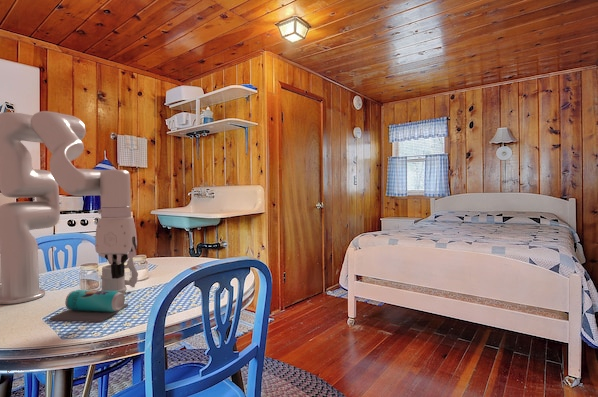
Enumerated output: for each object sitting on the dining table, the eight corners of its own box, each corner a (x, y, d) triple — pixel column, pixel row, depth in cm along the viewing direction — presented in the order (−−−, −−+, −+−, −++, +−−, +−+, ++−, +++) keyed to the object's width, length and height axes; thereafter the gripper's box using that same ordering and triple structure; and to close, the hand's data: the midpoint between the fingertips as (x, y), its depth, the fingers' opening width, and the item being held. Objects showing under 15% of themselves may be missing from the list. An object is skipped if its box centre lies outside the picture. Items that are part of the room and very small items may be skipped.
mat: (50, 319, 93) (50, 317, 93) (82, 304, 104) (82, 302, 104) (101, 321, 91) (100, 319, 91) (128, 306, 103) (128, 304, 103)
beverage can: (112, 295, 94) (63, 294, 95) (114, 315, 94) (65, 313, 96) (125, 288, 99) (78, 286, 101) (126, 306, 100) (80, 305, 102)
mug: (96, 295, 113) (95, 260, 112) (133, 287, 122) (132, 254, 121) (105, 300, 108) (104, 263, 107) (142, 291, 117) (141, 257, 116)
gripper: (82, 214, 93) (84, 280, 93) (133, 214, 91) (135, 281, 92) (100, 212, 100) (102, 273, 101) (148, 212, 99) (150, 274, 99)
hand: (118, 277), depth 96 cm, fingers closed
